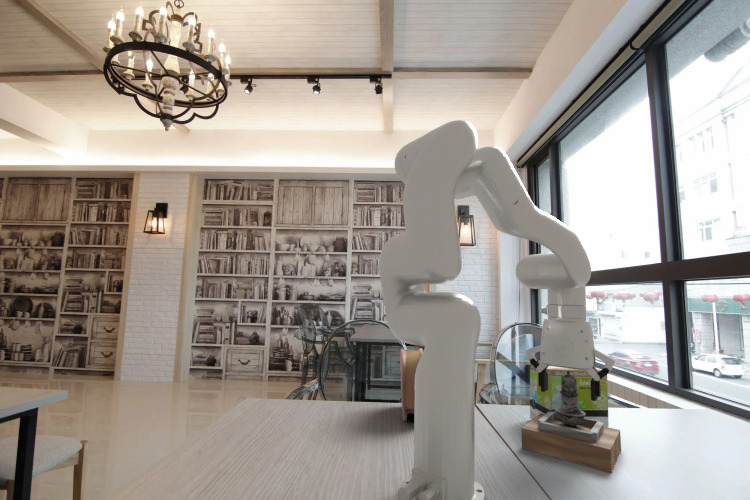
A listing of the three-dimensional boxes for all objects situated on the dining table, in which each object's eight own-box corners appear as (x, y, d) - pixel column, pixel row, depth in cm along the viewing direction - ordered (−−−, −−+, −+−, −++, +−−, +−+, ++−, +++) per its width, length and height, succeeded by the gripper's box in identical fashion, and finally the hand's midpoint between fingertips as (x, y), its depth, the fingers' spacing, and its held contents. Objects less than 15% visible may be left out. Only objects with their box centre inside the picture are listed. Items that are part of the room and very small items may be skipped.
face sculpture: (429, 429, 87) (430, 356, 90) (400, 427, 88) (401, 355, 90) (420, 404, 107) (421, 345, 109) (396, 403, 107) (398, 344, 110)
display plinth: (611, 472, 68) (610, 440, 68) (521, 448, 78) (521, 420, 78) (621, 449, 78) (619, 422, 79) (541, 430, 88) (540, 406, 89)
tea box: (552, 433, 87) (550, 368, 89) (529, 419, 97) (528, 361, 99) (610, 432, 89) (608, 369, 91) (582, 419, 99) (580, 361, 100)
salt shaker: (559, 422, 83) (557, 366, 84) (589, 428, 79) (586, 370, 80) (551, 429, 78) (550, 370, 80) (583, 436, 74) (580, 374, 76)
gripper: (520, 311, 84) (521, 390, 82) (610, 316, 73) (613, 407, 71) (531, 311, 90) (531, 385, 87) (615, 316, 79) (619, 400, 76)
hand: (568, 395), depth 79 cm, fingers open, 9 cm apart
